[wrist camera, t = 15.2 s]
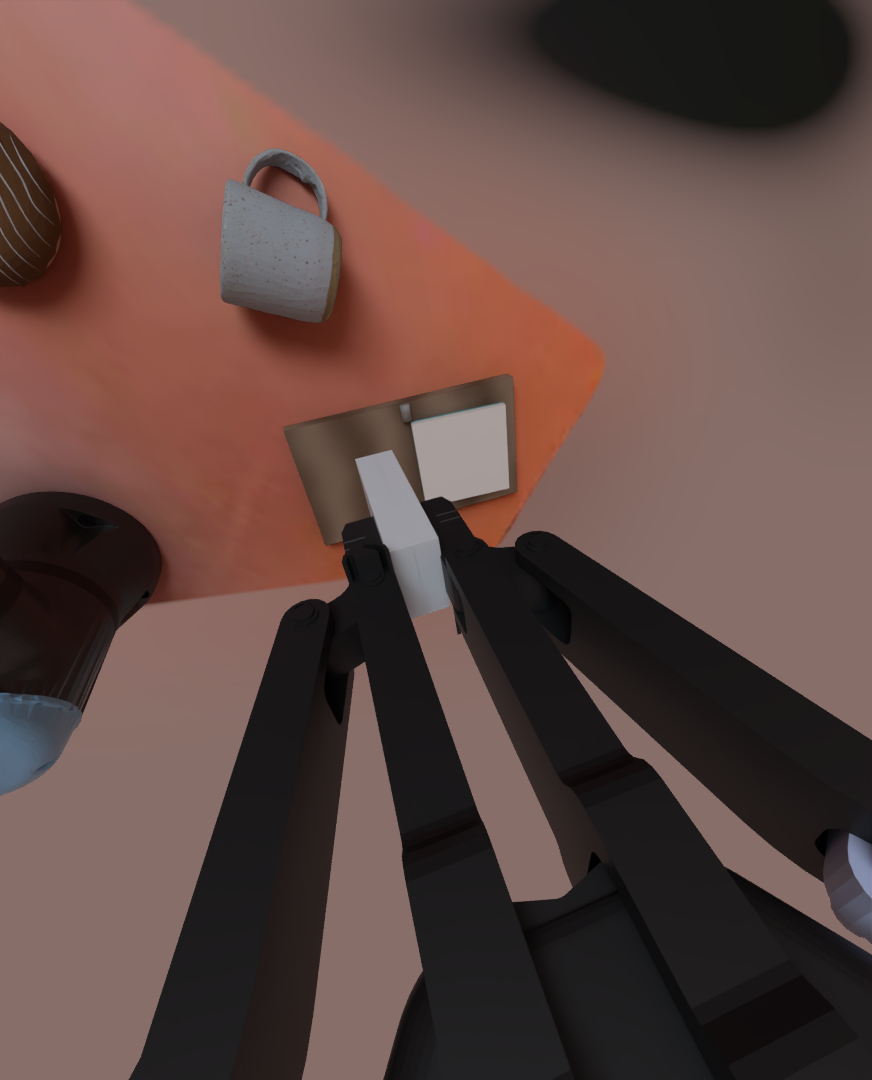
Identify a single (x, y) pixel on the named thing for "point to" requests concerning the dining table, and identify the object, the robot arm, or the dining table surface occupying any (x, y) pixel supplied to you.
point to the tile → (462, 452)
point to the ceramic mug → (279, 247)
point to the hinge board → (383, 448)
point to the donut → (25, 214)
